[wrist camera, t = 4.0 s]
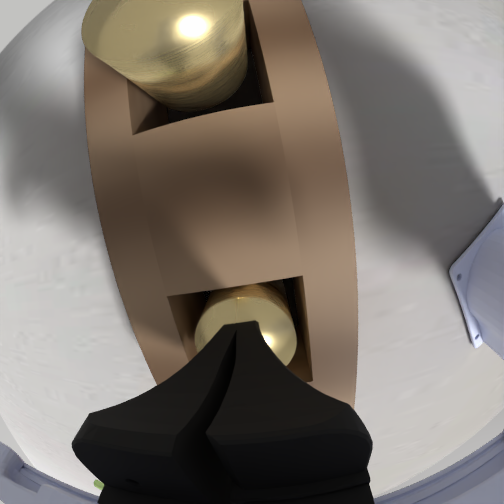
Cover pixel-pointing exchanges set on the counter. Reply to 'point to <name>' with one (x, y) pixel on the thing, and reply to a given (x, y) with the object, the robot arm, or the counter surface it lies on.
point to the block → (231, 202)
